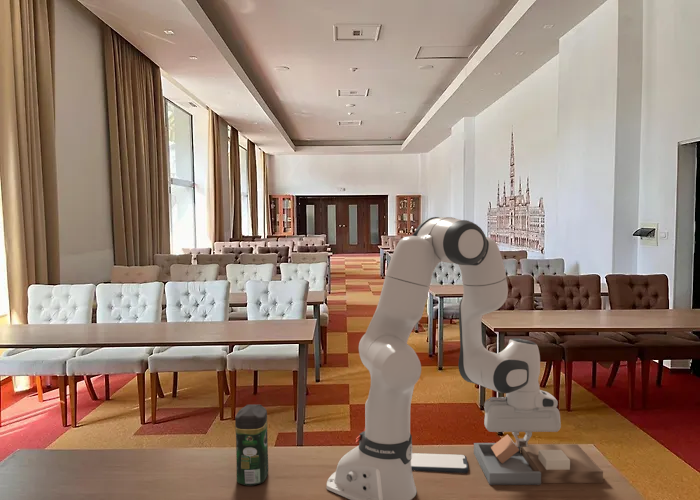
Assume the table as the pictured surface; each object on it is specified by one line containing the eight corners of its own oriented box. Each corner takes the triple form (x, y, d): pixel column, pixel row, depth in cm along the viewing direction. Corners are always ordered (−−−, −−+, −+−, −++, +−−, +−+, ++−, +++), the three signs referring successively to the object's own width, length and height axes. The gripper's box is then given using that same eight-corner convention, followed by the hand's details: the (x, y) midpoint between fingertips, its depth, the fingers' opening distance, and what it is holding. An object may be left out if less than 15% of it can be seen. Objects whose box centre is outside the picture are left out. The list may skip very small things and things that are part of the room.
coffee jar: (241, 468, 147) (240, 401, 145) (270, 469, 146) (269, 401, 145) (233, 487, 137) (231, 415, 136) (264, 487, 137) (263, 415, 135)
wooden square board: (539, 482, 139) (539, 471, 138) (520, 454, 154) (520, 444, 154) (602, 482, 138) (603, 471, 138) (577, 454, 154) (577, 444, 154)
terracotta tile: (502, 463, 148) (496, 456, 148) (496, 453, 154) (490, 447, 154) (519, 450, 147) (513, 443, 147) (513, 440, 153) (507, 434, 153)
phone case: (407, 472, 146) (468, 474, 144) (407, 466, 145) (468, 469, 143) (408, 457, 154) (466, 459, 152) (408, 452, 154) (466, 454, 152)
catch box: (489, 484, 138) (489, 473, 137) (473, 453, 156) (473, 442, 155) (540, 484, 138) (541, 473, 137) (519, 453, 155) (519, 442, 155)
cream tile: (546, 469, 139) (546, 460, 139) (538, 458, 145) (538, 449, 145) (569, 469, 139) (570, 460, 139) (560, 458, 145) (561, 449, 145)
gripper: (487, 401, 146) (486, 451, 147) (563, 401, 146) (562, 451, 147) (481, 393, 152) (481, 441, 153) (555, 393, 152) (553, 441, 153)
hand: (521, 446), depth 150 cm, fingers closed
